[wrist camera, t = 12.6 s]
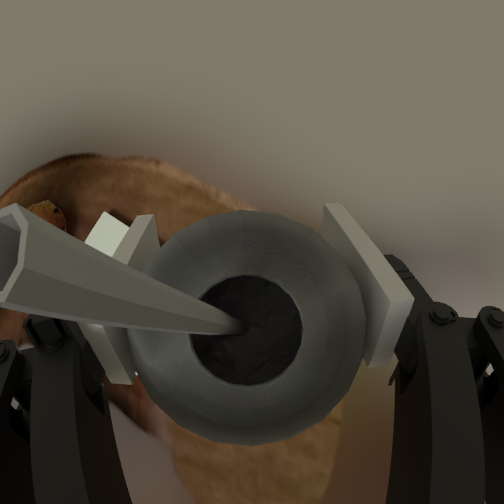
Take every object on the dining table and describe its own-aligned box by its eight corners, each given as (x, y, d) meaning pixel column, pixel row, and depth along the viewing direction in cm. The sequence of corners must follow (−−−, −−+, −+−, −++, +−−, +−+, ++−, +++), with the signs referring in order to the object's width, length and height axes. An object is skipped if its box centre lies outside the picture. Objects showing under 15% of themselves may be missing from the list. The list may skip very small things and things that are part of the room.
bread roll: (33, 241, 41) (-4, 246, 33) (51, 188, 38) (11, 186, 31) (61, 278, 39) (22, 288, 32) (82, 223, 37) (39, 225, 29)
